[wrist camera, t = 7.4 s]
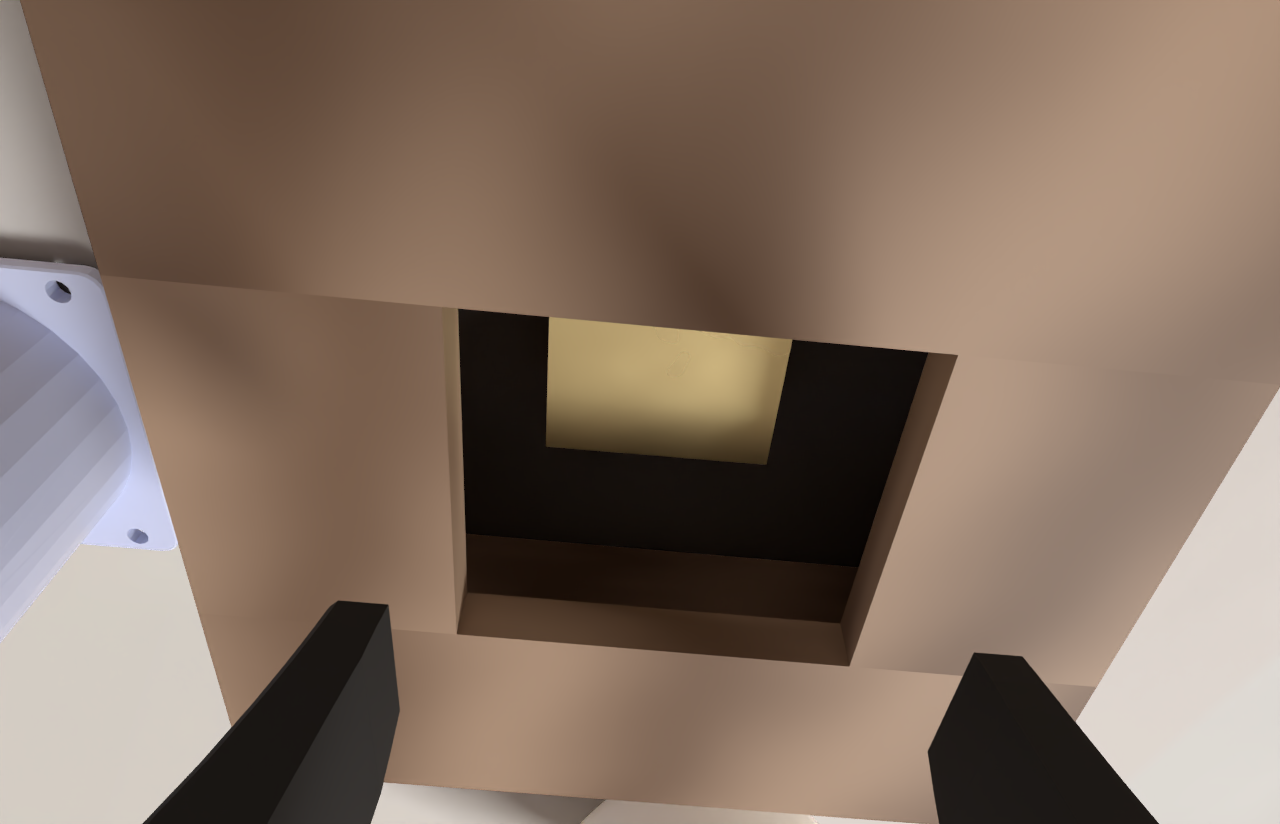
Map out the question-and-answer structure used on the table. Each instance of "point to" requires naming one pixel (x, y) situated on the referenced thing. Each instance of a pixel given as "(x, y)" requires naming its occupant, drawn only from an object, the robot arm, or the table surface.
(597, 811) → the lidded jar
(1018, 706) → the robot arm
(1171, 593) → the table surface
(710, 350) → the brass cube
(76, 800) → the table surface
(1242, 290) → the coin box
